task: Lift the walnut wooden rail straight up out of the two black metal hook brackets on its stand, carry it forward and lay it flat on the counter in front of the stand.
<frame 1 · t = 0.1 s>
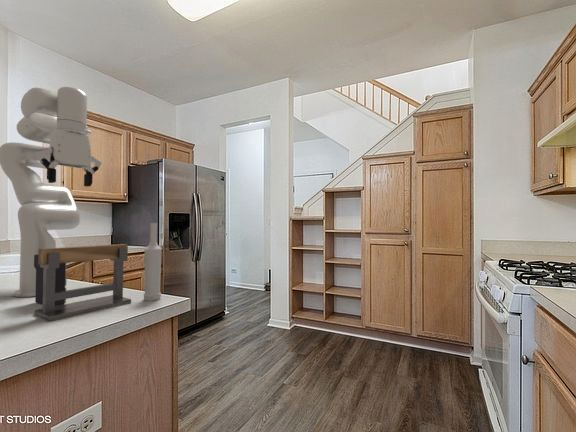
hand: (70, 184, 92), 37 cm above the countertop, tool pointing down, fingers open, 9 cm apart
hook stand: (86, 308, 87), on the countertop
bottle: (152, 299, 97), on the countertop
rail: (87, 260, 87), point 14 cm above the countertop, touching hook stand
black notched bar: (50, 304, 91), on the countertop
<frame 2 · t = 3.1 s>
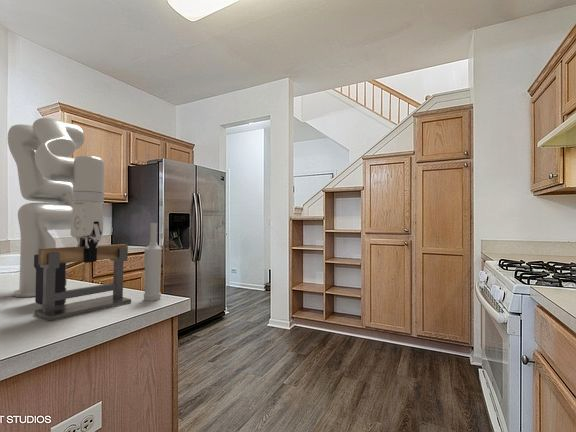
hand: (87, 261, 87), 14 cm above the countertop, tool pointing down, fingers closed on rail, 2 cm apart
rail: (87, 260, 87), point 14 cm above the countertop, touching gripper, hook stand
everything else where it was.
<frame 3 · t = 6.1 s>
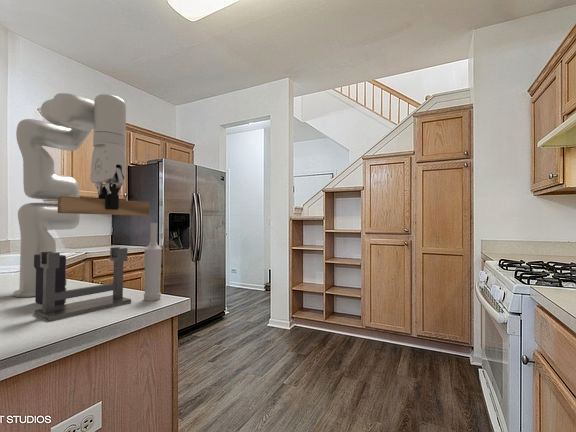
hand: (108, 208, 81), 29 cm above the countertop, tool pointing down, fingers closed on rail, 3 cm apart
rail: (108, 214, 81), point 27 cm above the countertop, touching gripper
everything else where it was.
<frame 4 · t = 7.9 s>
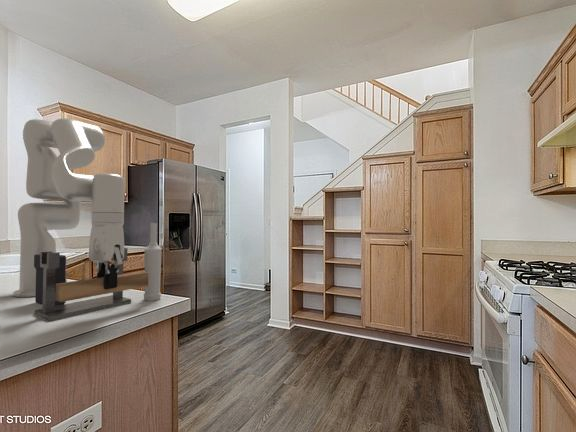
hand: (107, 286, 80), 8 cm above the countertop, tool pointing down, fingers closed on rail, 3 cm apart
rail: (106, 292, 80), point 6 cm above the countertop, touching gripper
everything else where it was.
when the fingers open (1 cm above the countertop, at t = 9.6 s): rail stays where it is, on the countertop.
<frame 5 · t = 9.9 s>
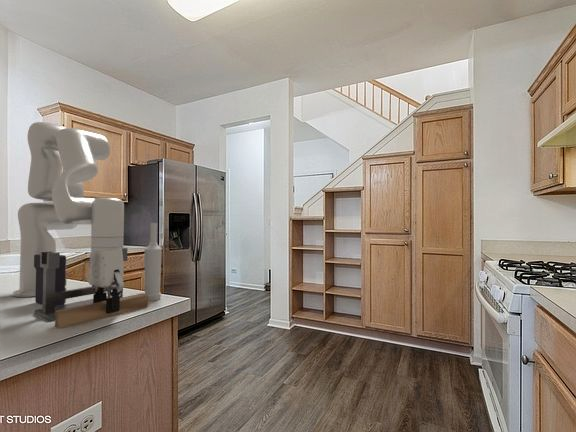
hand: (106, 309, 80), 2 cm above the countertop, tool pointing down, fingers open, 6 cm apart
rail: (106, 316, 80), on the countertop
everything else where it was.
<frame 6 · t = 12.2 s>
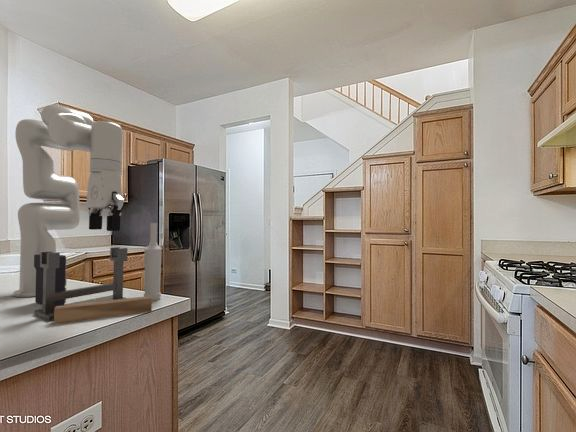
hand: (104, 230, 82), 23 cm above the countertop, tool pointing down, fingers open, 9 cm apart
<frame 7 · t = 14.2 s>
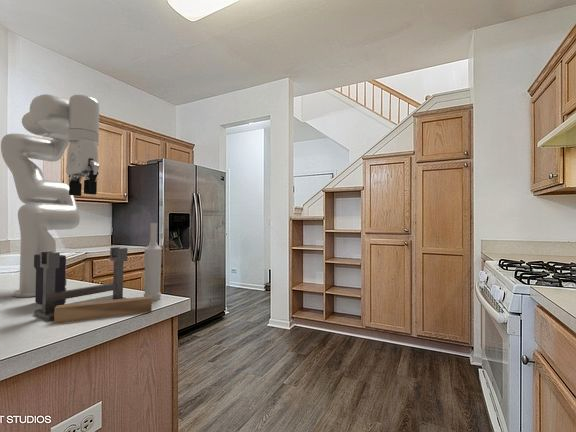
hand: (82, 194, 89), 33 cm above the countertop, tool pointing down, fingers open, 9 cm apart
at the end: rail inside the target area (0.1 cm from its centre), on the countertop; rail tilted 0°; the gripper is holding nothing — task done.
